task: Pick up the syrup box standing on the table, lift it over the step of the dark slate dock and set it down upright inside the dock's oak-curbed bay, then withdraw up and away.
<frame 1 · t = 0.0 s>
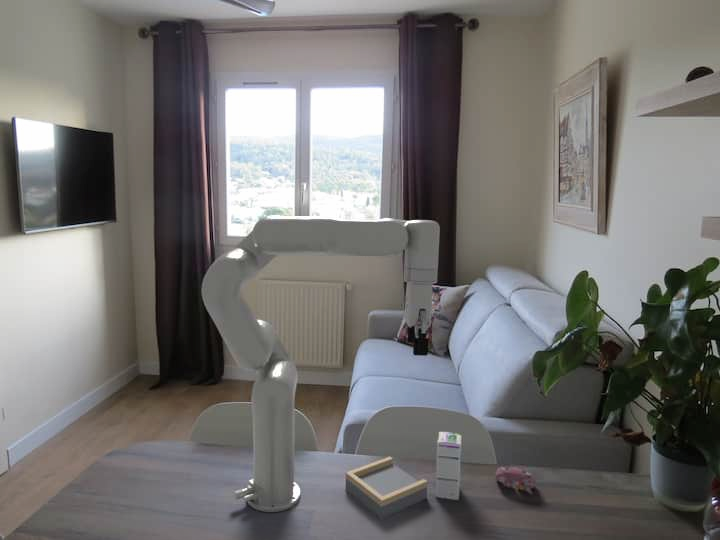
hand: (417, 348, 119), 37 cm above the table, tool pointing down, fingers open, 9 cm apart
pink toy figure: (514, 488, 131), on the table
syrup box: (446, 493, 128), on the table
dock: (385, 493, 126), on the table
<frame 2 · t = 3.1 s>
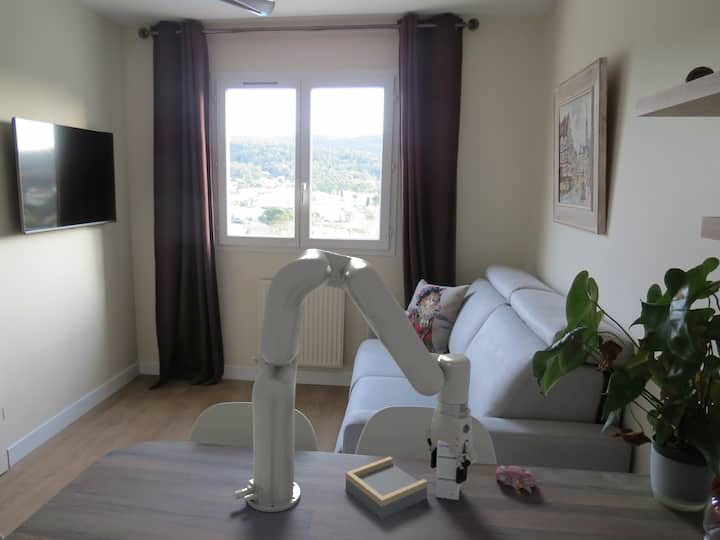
hand: (448, 473, 127), 5 cm above the table, tool pointing down, fingers closed on syrup box, 7 cm apart
syrup box: (446, 493, 128), on the table, touching gripper
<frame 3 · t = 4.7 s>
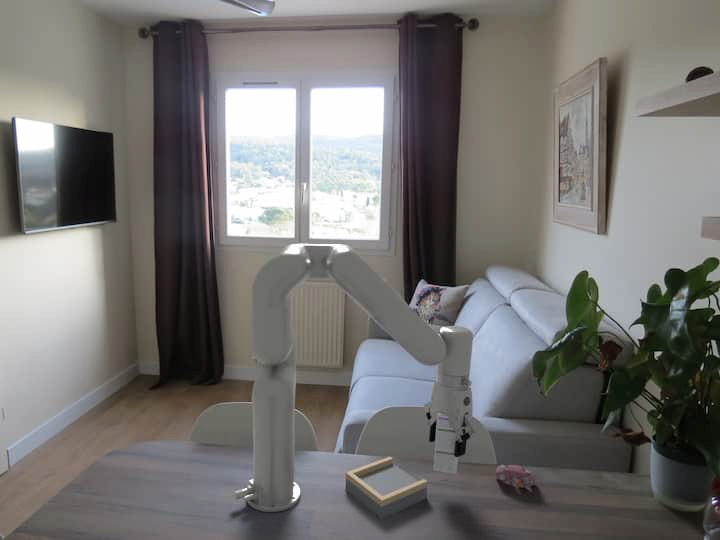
hand: (446, 447, 126), 12 cm above the table, tool pointing down, fingers closed on syrup box, 7 cm apart
syrup box: (444, 467, 127), point 7 cm above the table, touching gripper
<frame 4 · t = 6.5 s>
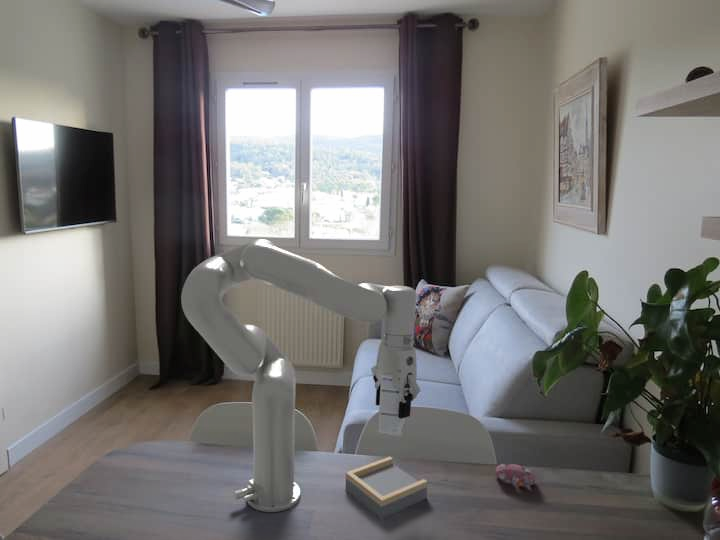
hand: (392, 410, 124), 21 cm above the table, tool pointing down, fingers closed on syrup box, 7 cm apart
syrup box: (391, 430, 124), point 16 cm above the table, touching gripper
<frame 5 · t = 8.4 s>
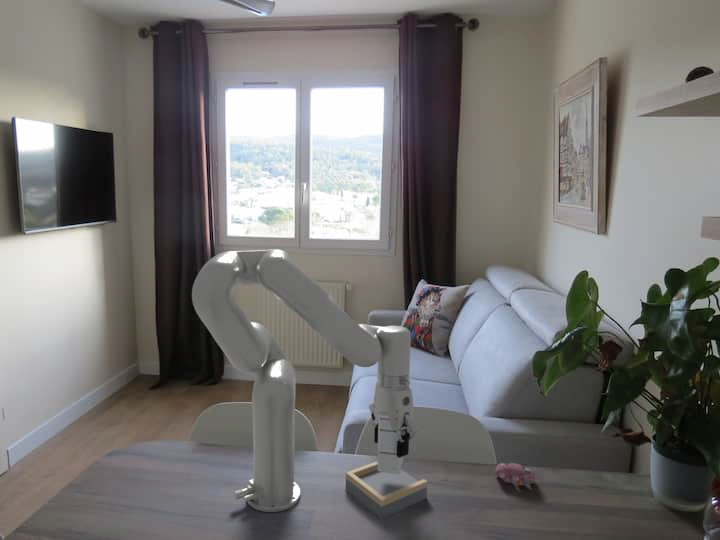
hand: (390, 448, 125), 12 cm above the table, tool pointing down, fingers closed on syrup box, 7 cm apart
syrup box: (390, 467, 126), point 6 cm above the table, touching gripper
when the fingers open (10 cm above the table, at t = 9.8 s): syrup box drops 2 cm, resting on dock.
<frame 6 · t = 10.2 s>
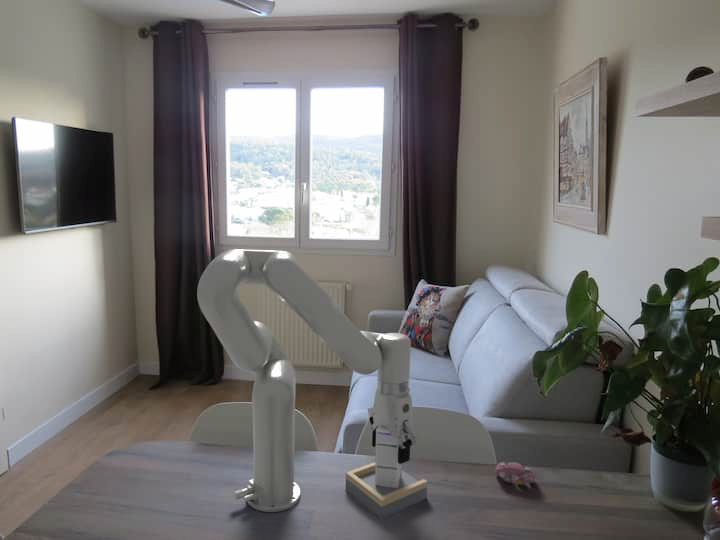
hand: (390, 453, 125), 10 cm above the table, tool pointing down, fingers open, 9 cm apart
syrup box: (387, 481, 126), point 3 cm above the table, touching dock
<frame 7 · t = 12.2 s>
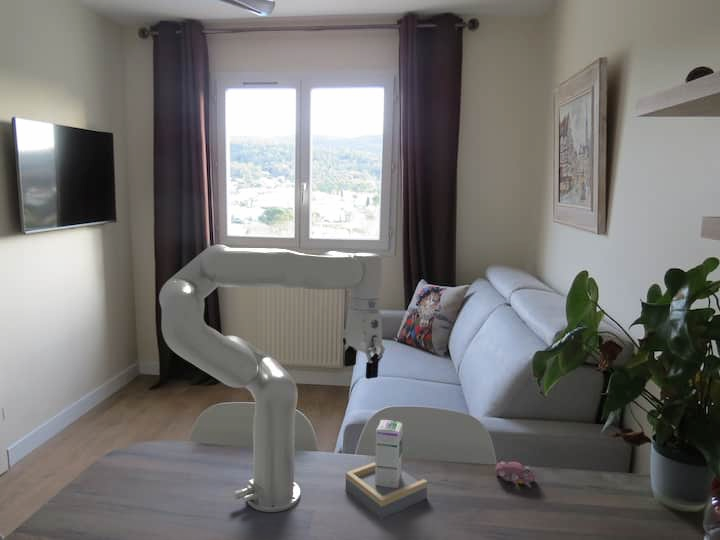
hand: (360, 371, 129), 29 cm above the table, tool pointing down, fingers open, 9 cm apart
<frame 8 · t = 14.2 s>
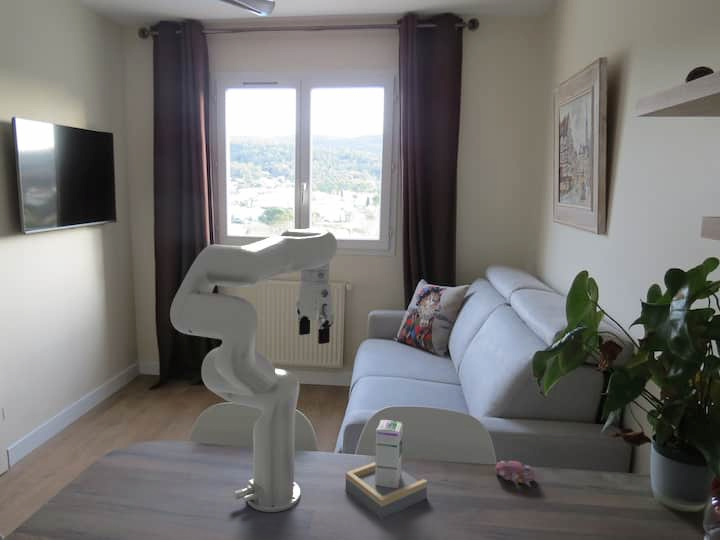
hand: (313, 338, 139), 33 cm above the table, tool pointing down, fingers open, 9 cm apart
at the end: syrup box inside the target area on the dock (0.2 cm from its centre), point 2.8 cm above the dock's base; syrup box tilted 0°; the gripper is holding nothing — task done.
